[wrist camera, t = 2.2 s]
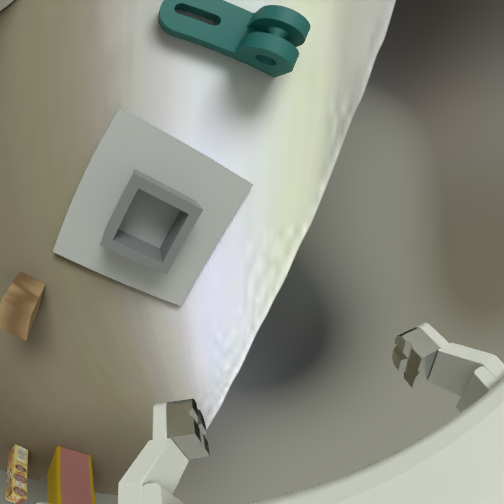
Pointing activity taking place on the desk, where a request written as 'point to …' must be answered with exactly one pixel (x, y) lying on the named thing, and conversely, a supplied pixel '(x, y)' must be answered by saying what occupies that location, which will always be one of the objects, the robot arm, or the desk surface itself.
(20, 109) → the desk surface
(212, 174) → the well
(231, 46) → the bracket
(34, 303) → the walnut block
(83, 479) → the alarm clock
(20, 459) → the candy box
